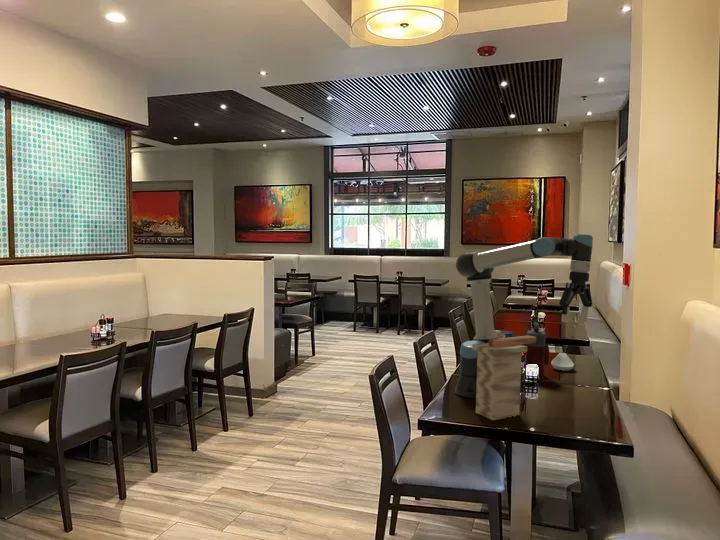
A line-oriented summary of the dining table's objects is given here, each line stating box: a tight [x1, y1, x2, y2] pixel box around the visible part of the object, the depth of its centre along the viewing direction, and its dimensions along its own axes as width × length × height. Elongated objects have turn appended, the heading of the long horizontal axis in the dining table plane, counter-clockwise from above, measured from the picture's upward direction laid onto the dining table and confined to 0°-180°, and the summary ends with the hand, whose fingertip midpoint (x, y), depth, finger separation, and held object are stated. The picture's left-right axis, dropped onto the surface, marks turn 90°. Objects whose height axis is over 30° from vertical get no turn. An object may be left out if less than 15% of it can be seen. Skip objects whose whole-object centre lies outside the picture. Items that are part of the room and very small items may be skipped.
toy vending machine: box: [525, 322, 550, 380], centre depth 264 cm, size 9×11×28 cm
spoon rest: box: [550, 352, 575, 372], centre depth 287 cm, size 24×12×7 cm, turn 161°
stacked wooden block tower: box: [472, 343, 527, 421], centre depth 207 cm, size 12×18×28 cm, turn 118°
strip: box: [489, 334, 536, 347], centre depth 209 cm, size 4×22×2 cm, turn 118°
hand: (574, 322), depth 215 cm, fingers open, 13 cm apart
